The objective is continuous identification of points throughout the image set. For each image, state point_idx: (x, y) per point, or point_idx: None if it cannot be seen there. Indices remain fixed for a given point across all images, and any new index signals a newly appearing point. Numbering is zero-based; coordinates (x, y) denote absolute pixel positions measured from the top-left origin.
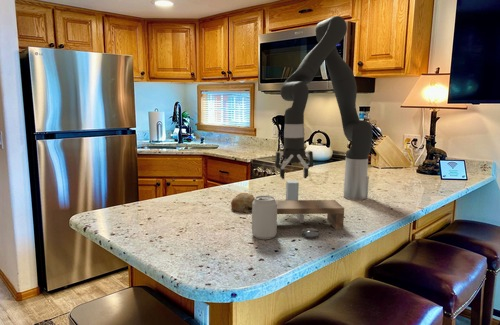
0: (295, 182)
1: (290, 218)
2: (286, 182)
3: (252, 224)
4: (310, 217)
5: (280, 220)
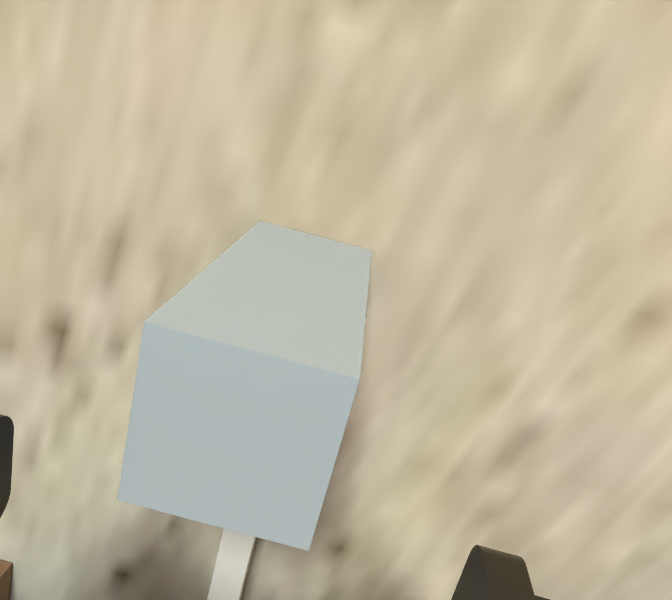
0: (265, 506)
1: (162, 569)
2: (156, 317)
3: None
4: (328, 595)
5: (73, 583)
